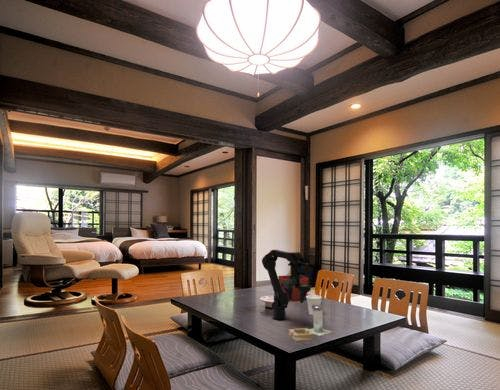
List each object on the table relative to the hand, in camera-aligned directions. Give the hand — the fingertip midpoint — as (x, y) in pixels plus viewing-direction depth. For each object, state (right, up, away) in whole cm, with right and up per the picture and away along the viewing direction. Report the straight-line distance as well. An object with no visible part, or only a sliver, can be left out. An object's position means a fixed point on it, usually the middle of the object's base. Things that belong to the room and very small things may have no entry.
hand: (295, 301), depth 187 cm
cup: (+15, -15, +20) cm, 29 cm away
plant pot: (+7, -19, +62) cm, 65 cm away
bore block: (0, -11, -22) cm, 25 cm away
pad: (+10, -12, -14) cm, 21 cm away
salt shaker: (+10, -11, -14) cm, 21 cm away
